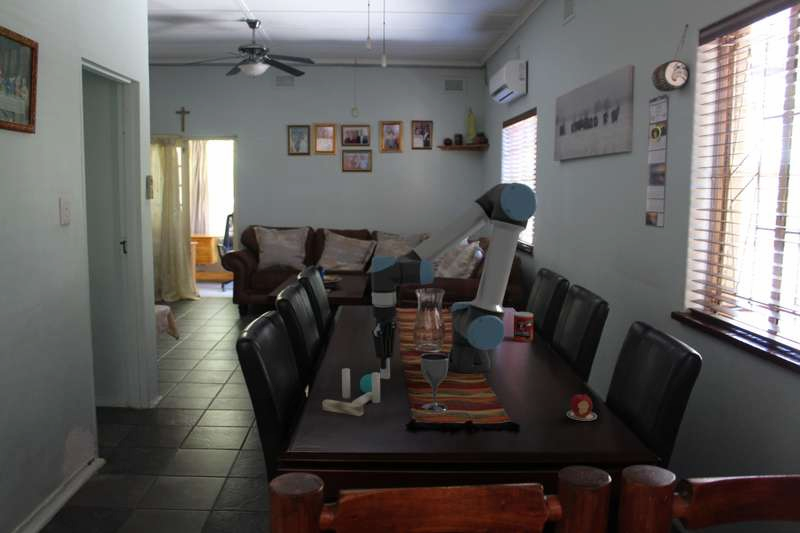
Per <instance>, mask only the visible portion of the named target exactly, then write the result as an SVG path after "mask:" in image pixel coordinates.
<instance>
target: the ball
mask: <svg viewBox="0 0 800 533" xmlns="http://www.w3.org/2000/svg"><path fill="white" fill-rule="evenodd" d="M359 388H360V390H361V391H362V392H363V393H364V394H366V393H367V392H371V393H372V373H369V374H368V373H367V374H365V375H363V376H362V377H361V378H360V381H359Z"/></svg>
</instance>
